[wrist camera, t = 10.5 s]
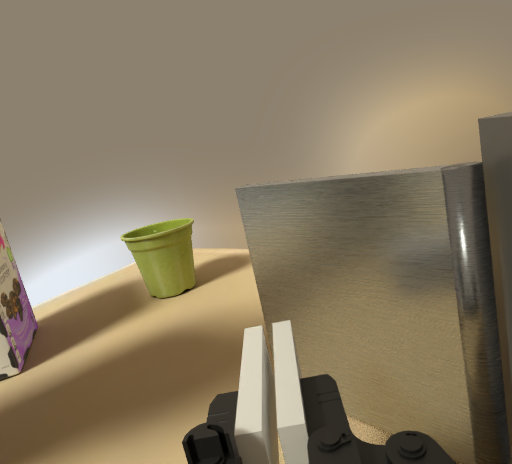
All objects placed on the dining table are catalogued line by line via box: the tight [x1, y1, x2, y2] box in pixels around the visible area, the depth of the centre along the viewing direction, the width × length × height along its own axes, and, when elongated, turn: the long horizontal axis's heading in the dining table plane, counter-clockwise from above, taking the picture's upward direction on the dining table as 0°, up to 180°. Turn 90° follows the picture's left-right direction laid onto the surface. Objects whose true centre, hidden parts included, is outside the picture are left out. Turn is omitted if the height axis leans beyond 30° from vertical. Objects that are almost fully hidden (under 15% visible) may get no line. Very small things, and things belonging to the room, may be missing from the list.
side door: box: [235, 162, 511, 464], centre depth 21 cm, size 13×2×13 cm, turn 42°
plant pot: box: [121, 218, 196, 298], centre depth 56 cm, size 9×9×9 cm
